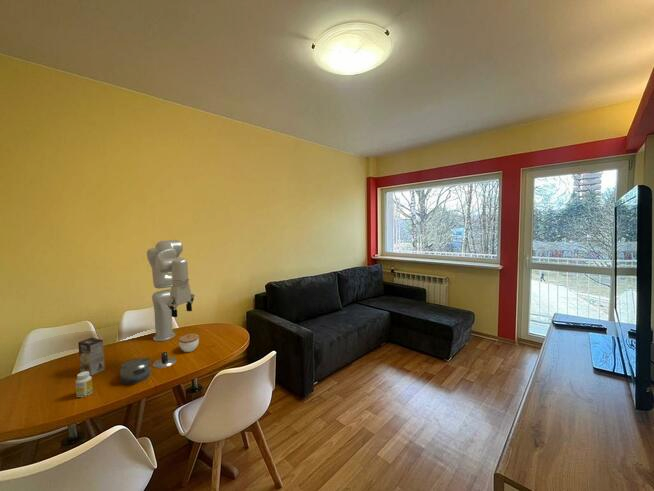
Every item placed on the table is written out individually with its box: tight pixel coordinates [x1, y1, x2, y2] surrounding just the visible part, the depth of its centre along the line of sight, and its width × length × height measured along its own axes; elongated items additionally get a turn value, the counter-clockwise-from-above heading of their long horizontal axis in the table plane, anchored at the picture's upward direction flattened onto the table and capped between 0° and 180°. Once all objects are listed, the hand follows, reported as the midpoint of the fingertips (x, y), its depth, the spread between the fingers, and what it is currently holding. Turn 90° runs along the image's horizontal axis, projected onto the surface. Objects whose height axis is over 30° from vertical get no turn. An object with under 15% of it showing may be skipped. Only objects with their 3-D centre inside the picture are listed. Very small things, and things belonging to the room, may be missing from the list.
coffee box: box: [78, 336, 106, 376], centre depth 138 cm, size 9×6×16 cm
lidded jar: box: [178, 333, 200, 353], centre depth 162 cm, size 11×11×9 cm
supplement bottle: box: [75, 371, 93, 398], centre depth 120 cm, size 5×5×10 cm
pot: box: [119, 357, 152, 385], centre depth 133 cm, size 16×12×7 cm
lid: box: [152, 351, 177, 369], centre depth 147 cm, size 11×11×6 cm
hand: (182, 313), depth 145 cm, fingers open, 9 cm apart
